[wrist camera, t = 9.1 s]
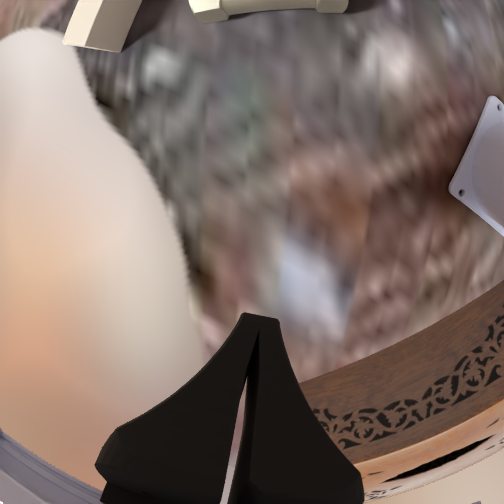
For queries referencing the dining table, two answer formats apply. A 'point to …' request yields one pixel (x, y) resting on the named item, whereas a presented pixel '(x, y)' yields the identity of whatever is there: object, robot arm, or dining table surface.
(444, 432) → the tissue box cover
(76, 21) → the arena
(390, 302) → the dining table surface
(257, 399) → the robot arm
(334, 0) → the pipe fitting
